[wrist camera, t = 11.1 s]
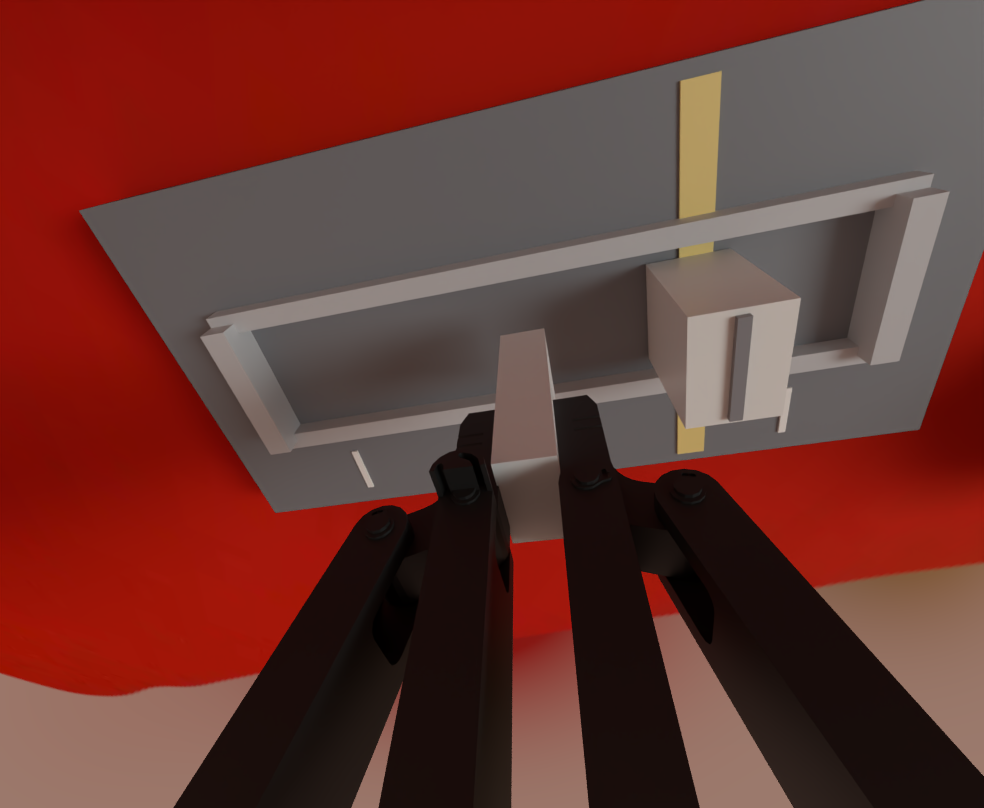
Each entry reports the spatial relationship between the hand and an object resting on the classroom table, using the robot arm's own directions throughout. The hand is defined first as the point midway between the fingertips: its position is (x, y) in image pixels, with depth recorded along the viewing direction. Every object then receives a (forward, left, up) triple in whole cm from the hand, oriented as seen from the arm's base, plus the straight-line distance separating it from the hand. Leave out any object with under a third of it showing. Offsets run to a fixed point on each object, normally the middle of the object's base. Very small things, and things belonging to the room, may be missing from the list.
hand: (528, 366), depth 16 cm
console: (0, +1, -6) cm, 6 cm away
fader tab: (0, +6, -3) cm, 7 cm away
